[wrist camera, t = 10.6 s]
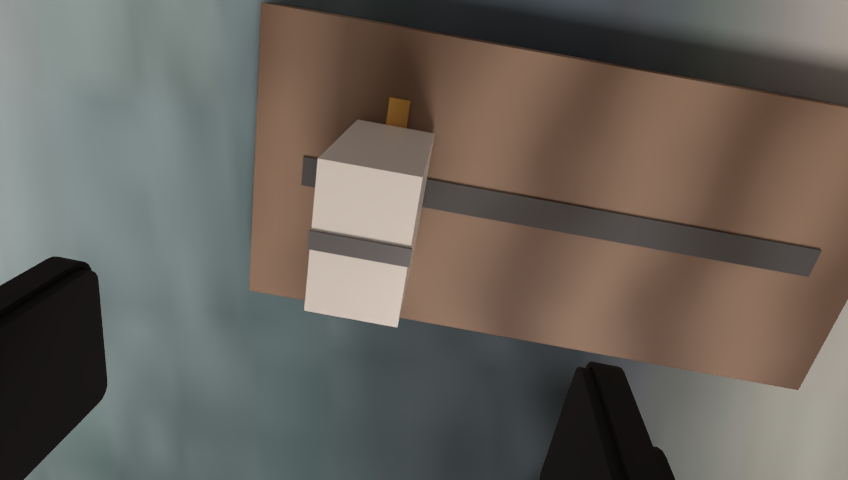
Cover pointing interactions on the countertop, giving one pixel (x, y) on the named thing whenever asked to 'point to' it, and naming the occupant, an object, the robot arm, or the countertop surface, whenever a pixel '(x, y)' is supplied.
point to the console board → (570, 194)
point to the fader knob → (366, 221)
